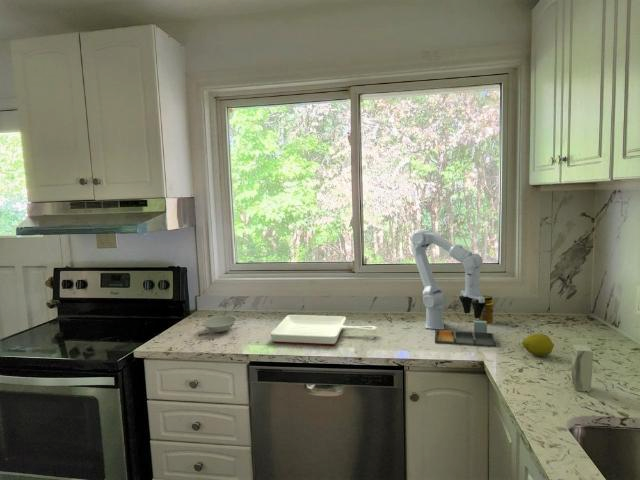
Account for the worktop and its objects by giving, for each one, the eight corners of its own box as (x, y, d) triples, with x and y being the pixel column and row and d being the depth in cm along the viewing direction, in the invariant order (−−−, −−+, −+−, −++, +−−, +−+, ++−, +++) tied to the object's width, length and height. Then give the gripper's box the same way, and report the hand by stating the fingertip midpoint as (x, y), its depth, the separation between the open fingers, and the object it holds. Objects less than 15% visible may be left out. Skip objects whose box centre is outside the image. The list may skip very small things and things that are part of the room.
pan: (288, 324, 202) (287, 314, 201) (379, 327, 193) (379, 317, 192) (269, 345, 174) (268, 334, 174) (374, 350, 165) (374, 338, 165)
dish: (225, 339, 182) (224, 328, 181) (196, 336, 186) (195, 325, 186) (244, 326, 199) (243, 316, 198) (217, 324, 203) (216, 314, 202)
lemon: (551, 352, 156) (552, 331, 155) (557, 360, 149) (557, 339, 148) (519, 350, 159) (520, 330, 158) (523, 358, 152) (524, 337, 151)
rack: (435, 334, 179) (435, 329, 179) (493, 338, 173) (493, 333, 173) (434, 342, 170) (434, 337, 170) (496, 346, 164) (496, 341, 163)
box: (570, 383, 131) (571, 343, 130) (586, 385, 130) (588, 345, 129) (575, 391, 126) (576, 350, 125) (592, 392, 125) (593, 351, 124)
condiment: (497, 322, 193) (497, 297, 192) (483, 325, 189) (484, 299, 188) (484, 318, 200) (484, 294, 198) (471, 321, 196) (471, 296, 195)
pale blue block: (473, 331, 182) (473, 320, 182) (486, 332, 181) (486, 321, 180) (474, 333, 179) (474, 322, 179) (486, 334, 178) (486, 323, 177)
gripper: (454, 280, 181) (454, 311, 182) (473, 288, 166) (473, 321, 168) (469, 279, 182) (469, 310, 184) (489, 286, 168) (489, 319, 169)
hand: (472, 315), depth 176 cm, fingers open, 7 cm apart
